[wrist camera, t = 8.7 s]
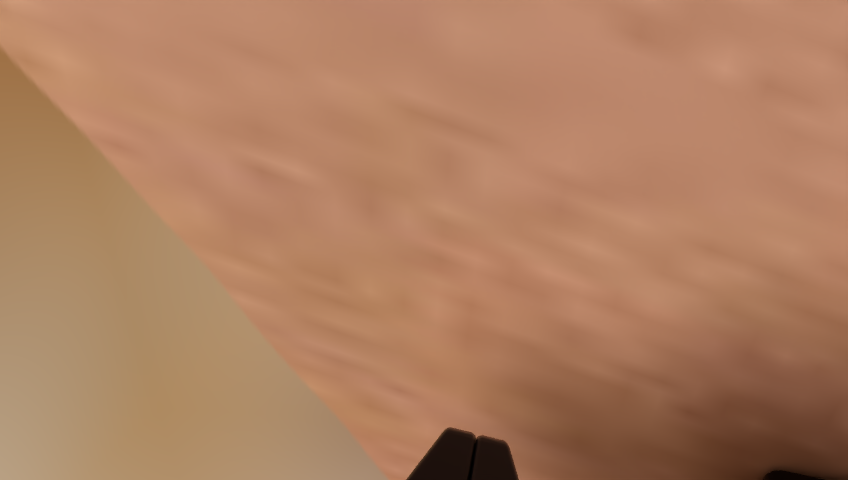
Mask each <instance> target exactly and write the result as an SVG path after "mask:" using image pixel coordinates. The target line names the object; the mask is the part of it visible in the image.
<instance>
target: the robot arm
mask: <svg viewBox="0 0 848 480" xmlns="http://www.w3.org/2000/svg"><path fill="white" fill-rule="evenodd" d="M406 480H519V479H518V475H517V472H516V468H515V465H514V462H513V458H512V455H511V451H510V448H509V446H508V444H507V443H506V442H505V441H503V440H499V439H495V438H491V437H487V436H483V435H482V436H478V437H477V439H476V437H475V435H474V434H473V433H471V432H467V431H463V430H459V429H455V428H447V429H446V430H444V431H443V433H442V434H441V435H440V436H439V438H438V439H437V440H436V442H435V443H434V444H433V446H432V447H431V448H430V449H429V451H428V452H427V453H426V455H425V456H424V457H423V459H422V460H421V461H420V462H419V464H418V465H417V466H416V468H415V469H414V470H413V472H412V473H411V474H410V475H409V477H408V478H407V479H406ZM763 480H823V479H818V478H813V477H809V476H804V475H800V474H795V473H790V472H786V471H772V472H770V473H768V474H767V475H766V476H765V477H764V479H763Z"/></svg>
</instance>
